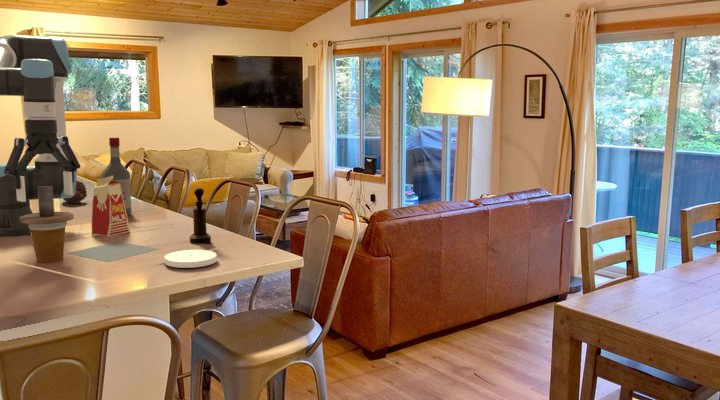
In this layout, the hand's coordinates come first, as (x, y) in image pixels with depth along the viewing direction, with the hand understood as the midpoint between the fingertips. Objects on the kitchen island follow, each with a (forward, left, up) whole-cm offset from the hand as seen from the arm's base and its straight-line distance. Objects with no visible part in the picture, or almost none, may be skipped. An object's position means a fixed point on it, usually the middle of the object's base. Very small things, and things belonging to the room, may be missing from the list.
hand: (45, 197), depth 163 cm
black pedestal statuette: (+18, +39, -18) cm, 47 cm away
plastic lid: (+33, +20, -18) cm, 43 cm away
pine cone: (-81, +65, -18) cm, 105 cm away
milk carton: (-16, +32, -18) cm, 40 cm away
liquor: (-43, +57, -18) cm, 74 cm away
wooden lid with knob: (0, 0, -6) cm, 6 cm away
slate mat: (+6, +16, -18) cm, 25 cm away
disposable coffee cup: (0, 0, -18) cm, 18 cm away
